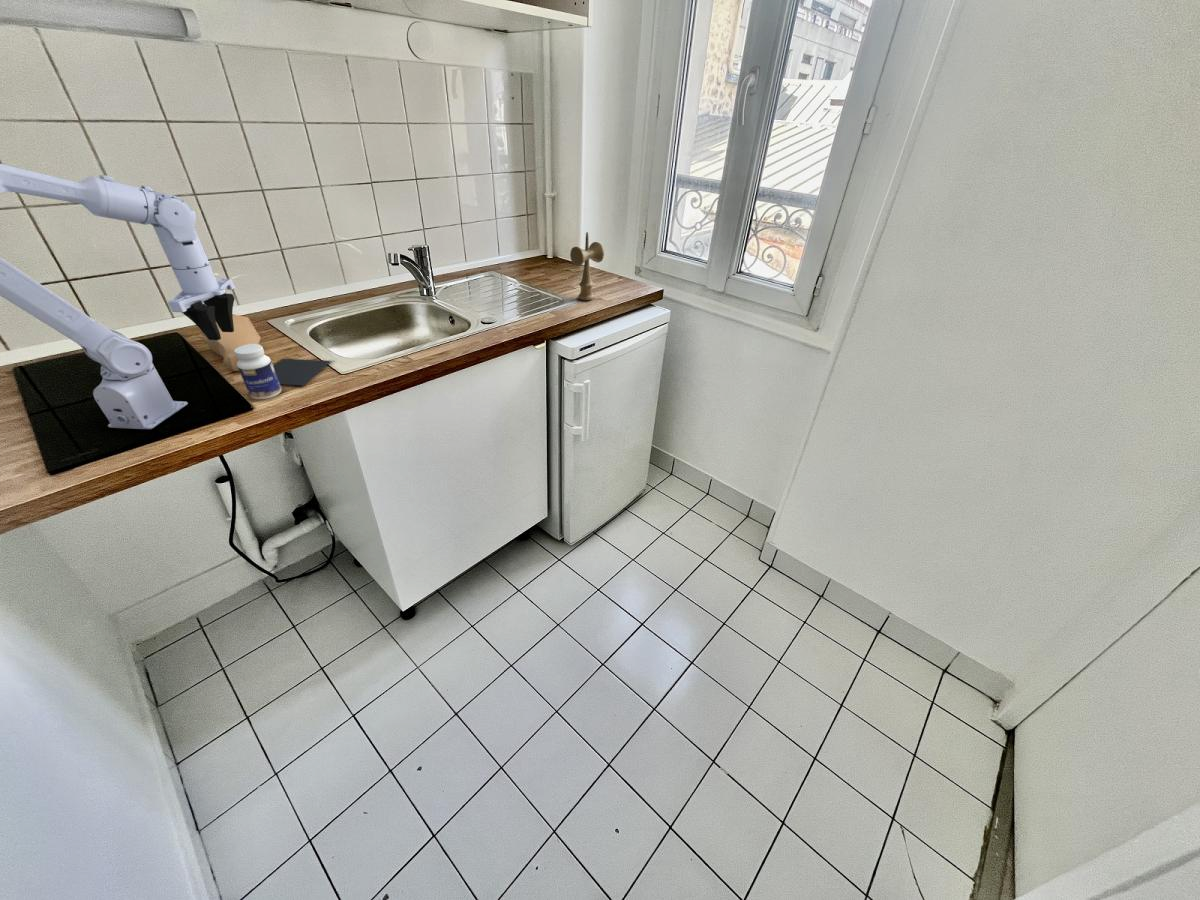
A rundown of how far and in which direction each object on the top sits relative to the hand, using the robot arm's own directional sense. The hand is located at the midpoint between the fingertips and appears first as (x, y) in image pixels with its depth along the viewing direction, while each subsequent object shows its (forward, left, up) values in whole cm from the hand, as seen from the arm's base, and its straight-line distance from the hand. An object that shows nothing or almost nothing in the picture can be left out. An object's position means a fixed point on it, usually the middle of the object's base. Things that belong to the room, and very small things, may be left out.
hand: (221, 335), depth 97 cm
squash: (+12, +8, -11) cm, 18 cm away
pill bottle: (-4, -8, -11) cm, 14 cm away
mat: (+5, -8, -10) cm, 14 cm away
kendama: (+64, -70, -11) cm, 95 cm away
